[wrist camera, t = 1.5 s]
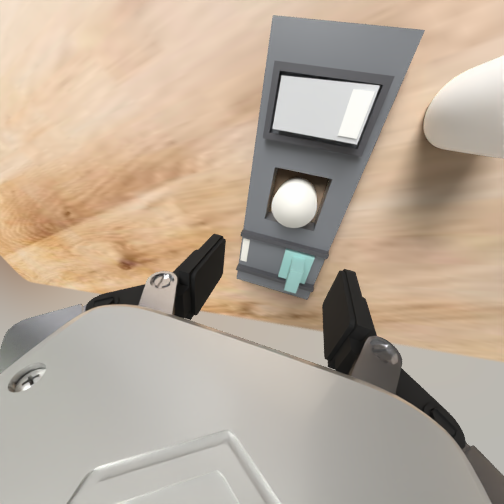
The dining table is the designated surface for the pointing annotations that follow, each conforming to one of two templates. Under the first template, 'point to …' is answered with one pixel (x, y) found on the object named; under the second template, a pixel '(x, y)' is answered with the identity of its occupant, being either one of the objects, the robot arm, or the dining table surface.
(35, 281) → the dining table surface
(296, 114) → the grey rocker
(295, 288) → the teal slide switch
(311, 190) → the push button
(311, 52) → the control panel
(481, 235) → the dining table surface
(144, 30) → the dining table surface
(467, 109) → the can
